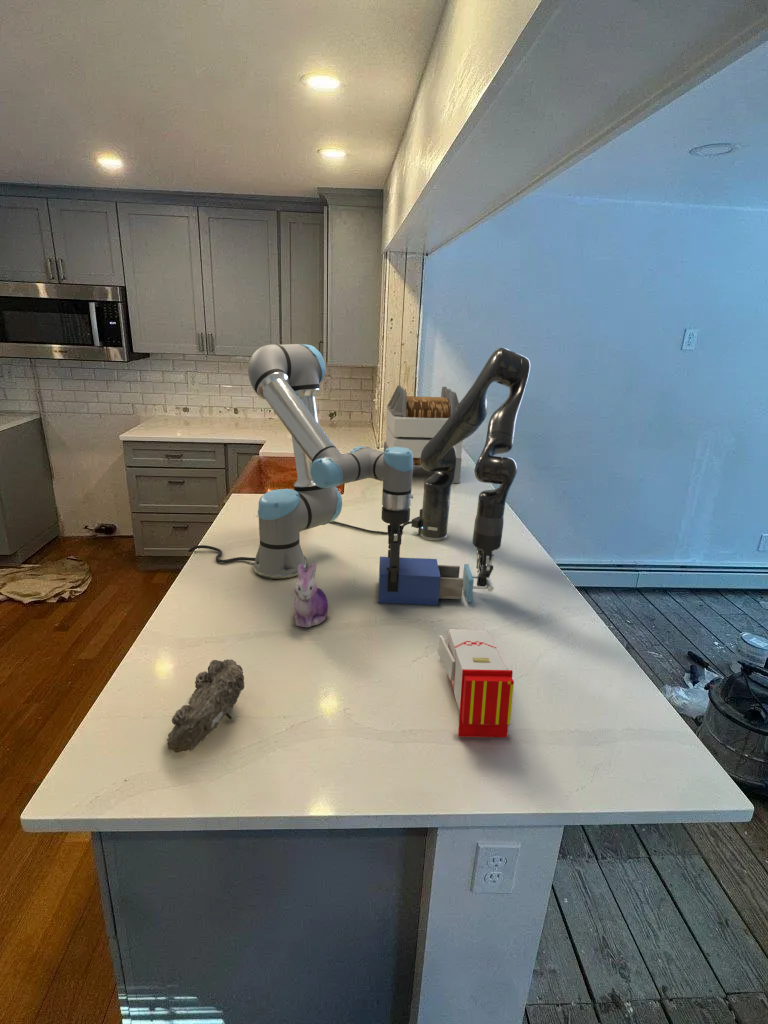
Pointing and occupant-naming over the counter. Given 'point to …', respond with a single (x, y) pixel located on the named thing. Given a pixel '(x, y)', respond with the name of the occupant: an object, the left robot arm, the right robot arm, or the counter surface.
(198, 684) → the fossil
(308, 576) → the figurine
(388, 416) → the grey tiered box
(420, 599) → the cabinet
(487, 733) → the toy
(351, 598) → the counter surface
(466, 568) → the drawer
